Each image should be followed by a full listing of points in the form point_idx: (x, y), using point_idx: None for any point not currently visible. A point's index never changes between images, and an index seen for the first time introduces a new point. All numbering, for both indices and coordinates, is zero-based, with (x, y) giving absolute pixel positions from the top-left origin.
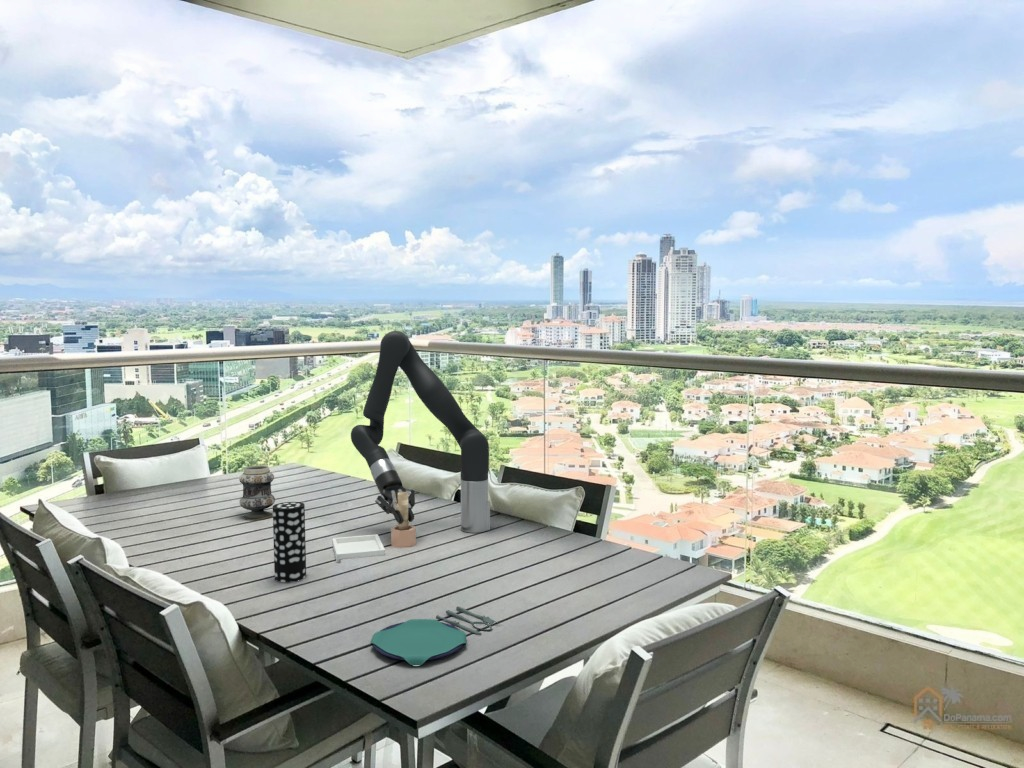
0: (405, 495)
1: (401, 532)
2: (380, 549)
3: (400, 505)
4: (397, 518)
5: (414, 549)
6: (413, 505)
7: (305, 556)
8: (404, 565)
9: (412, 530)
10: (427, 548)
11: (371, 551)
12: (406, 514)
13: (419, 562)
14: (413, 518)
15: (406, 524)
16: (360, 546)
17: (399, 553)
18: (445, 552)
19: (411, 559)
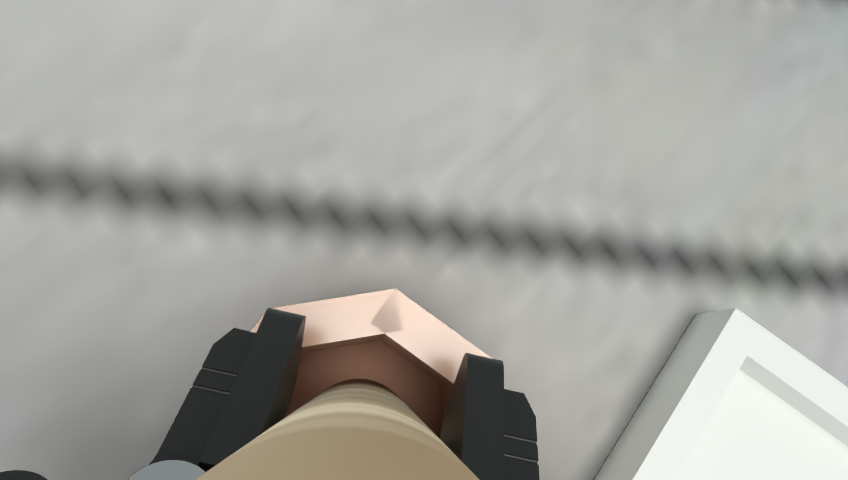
0: (392, 432)
1: (483, 354)
2: (757, 355)
3: None
4: (531, 441)
5: (355, 284)
6: (40, 478)
7: None
8: (708, 59)
9: (342, 297)
10: (261, 207)
11: (844, 387)
12: (361, 392)
13: (584, 13)
14: (278, 310)
15: (365, 385)
16: None
17: (525, 311)
18: (259, 5)
19: (573, 113)
